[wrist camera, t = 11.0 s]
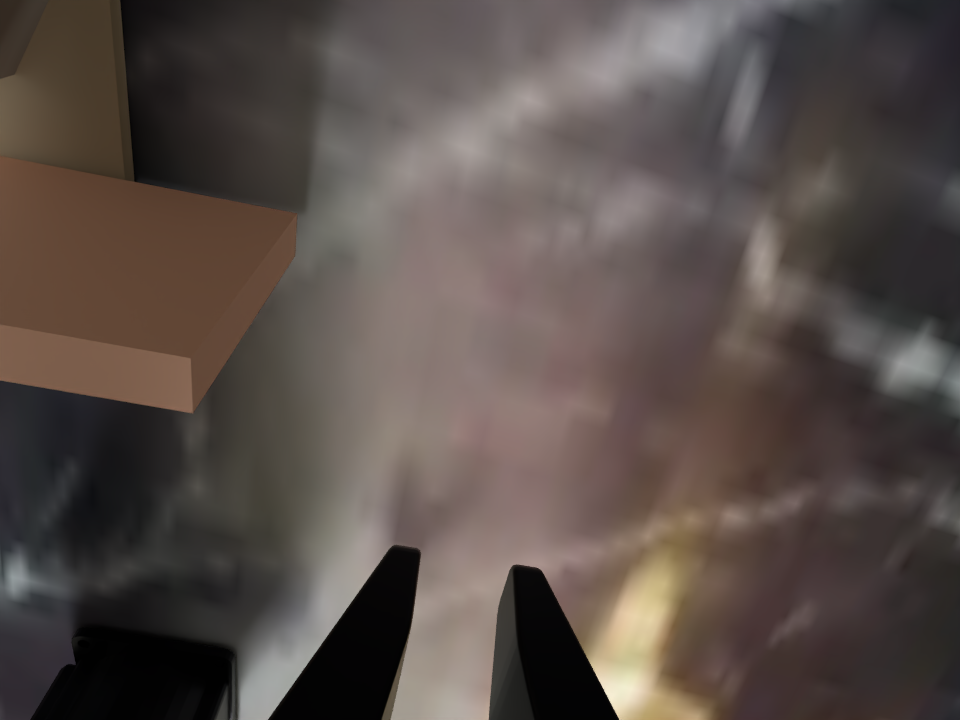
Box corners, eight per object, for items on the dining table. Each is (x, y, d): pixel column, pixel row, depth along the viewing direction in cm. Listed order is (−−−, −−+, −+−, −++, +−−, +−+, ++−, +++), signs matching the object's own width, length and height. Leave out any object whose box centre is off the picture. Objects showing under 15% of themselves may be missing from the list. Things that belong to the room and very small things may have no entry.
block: (297, 213, 18) (190, 358, 12) (294, 255, 18) (192, 413, 12) (-25, 150, 17) (-305, 270, 11) (-15, 197, 18) (-277, 332, 12)
